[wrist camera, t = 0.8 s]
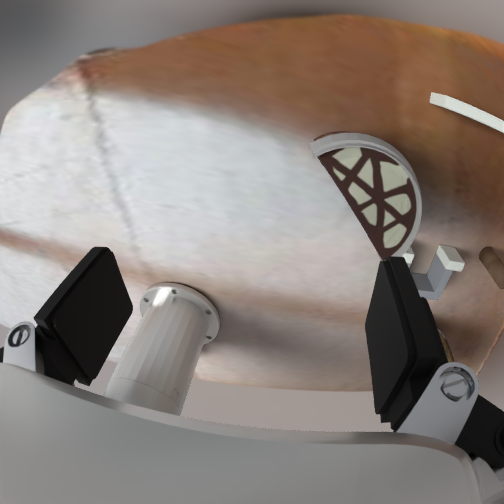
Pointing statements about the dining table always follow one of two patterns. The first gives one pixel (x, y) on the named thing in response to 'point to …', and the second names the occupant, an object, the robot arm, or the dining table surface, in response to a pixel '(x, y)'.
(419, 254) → the dining table surface
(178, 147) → the dining table surface
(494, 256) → the goal posts
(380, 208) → the food container
